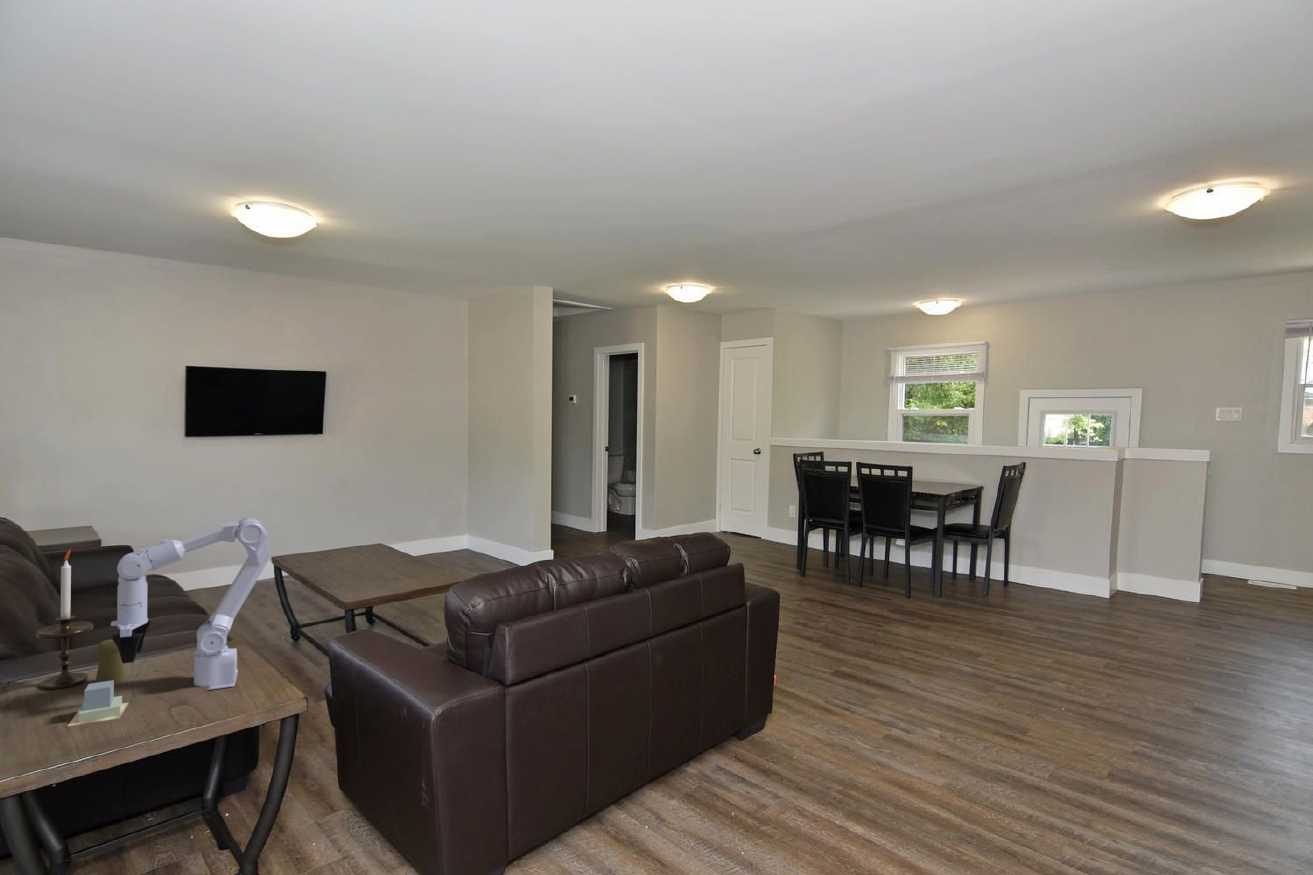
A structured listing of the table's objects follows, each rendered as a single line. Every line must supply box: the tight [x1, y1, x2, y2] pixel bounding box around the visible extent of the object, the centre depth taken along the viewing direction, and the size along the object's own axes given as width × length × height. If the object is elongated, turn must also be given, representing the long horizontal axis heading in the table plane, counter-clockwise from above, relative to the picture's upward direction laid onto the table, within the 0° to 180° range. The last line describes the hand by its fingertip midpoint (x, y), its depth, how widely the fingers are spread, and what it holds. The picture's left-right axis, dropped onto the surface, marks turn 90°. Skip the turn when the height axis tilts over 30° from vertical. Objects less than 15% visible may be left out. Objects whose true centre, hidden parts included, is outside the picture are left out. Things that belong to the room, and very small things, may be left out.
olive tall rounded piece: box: [94, 638, 126, 684], centre depth 168 cm, size 6×6×11 cm
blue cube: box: [83, 680, 115, 711], centre depth 148 cm, size 4×4×4 cm
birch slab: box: [67, 702, 129, 727], centre depth 148 cm, size 9×9×2 cm
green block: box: [79, 695, 123, 723], centre depth 148 cm, size 7×7×2 cm
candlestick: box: [35, 548, 94, 691], centre depth 167 cm, size 11×11×35 cm
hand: (131, 657), depth 159 cm, fingers open, 7 cm apart
